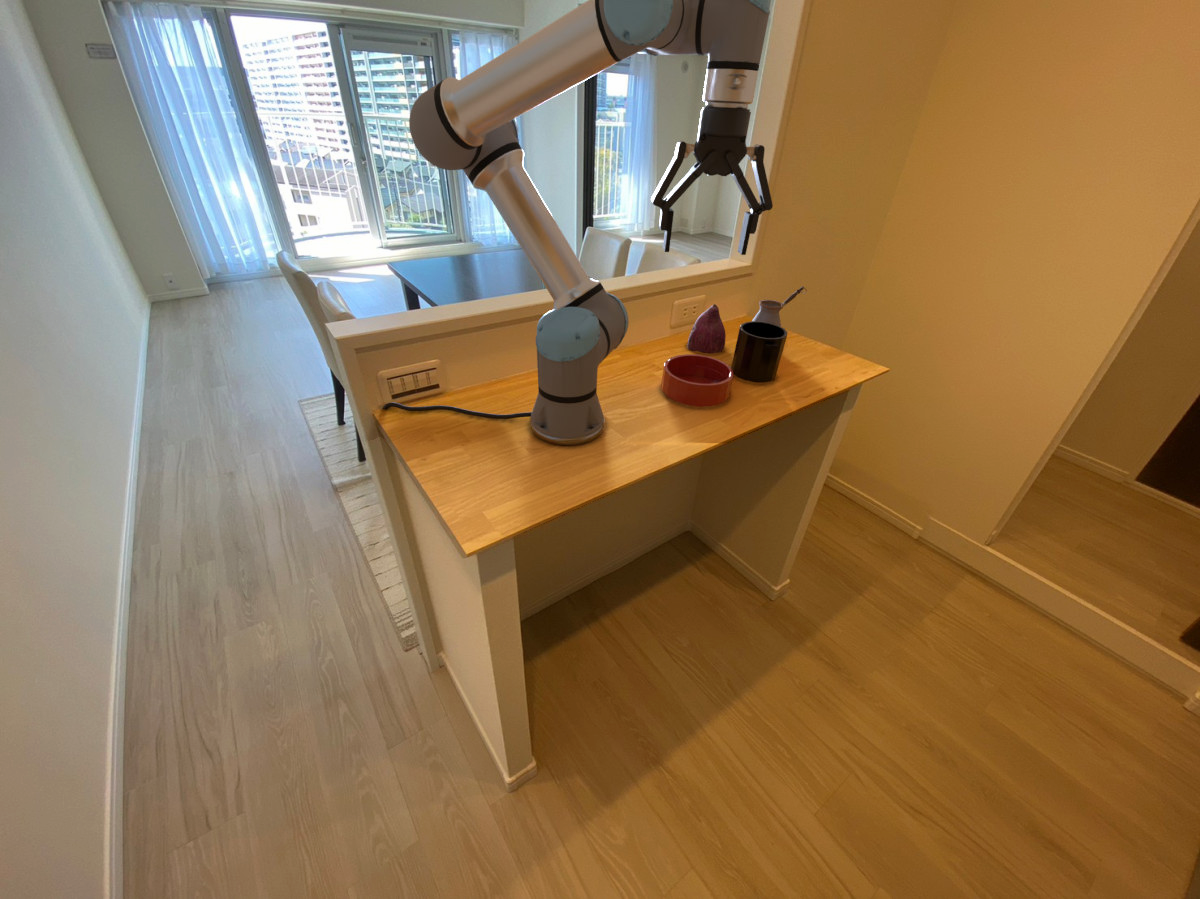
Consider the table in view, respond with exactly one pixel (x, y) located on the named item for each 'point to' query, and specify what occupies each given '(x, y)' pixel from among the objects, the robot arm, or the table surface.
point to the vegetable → (708, 332)
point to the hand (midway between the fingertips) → (703, 251)
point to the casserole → (696, 380)
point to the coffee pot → (773, 309)
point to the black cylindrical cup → (758, 351)
